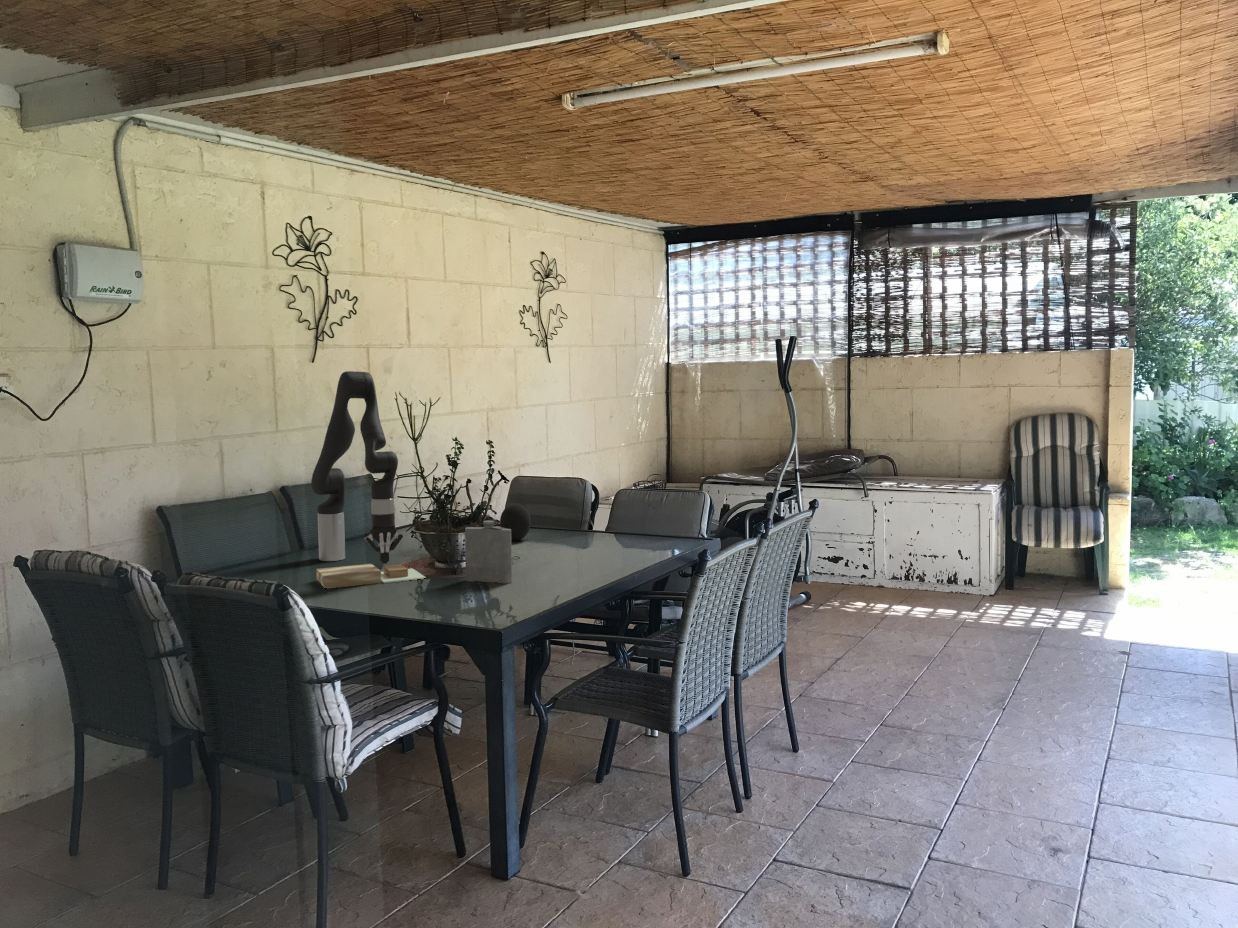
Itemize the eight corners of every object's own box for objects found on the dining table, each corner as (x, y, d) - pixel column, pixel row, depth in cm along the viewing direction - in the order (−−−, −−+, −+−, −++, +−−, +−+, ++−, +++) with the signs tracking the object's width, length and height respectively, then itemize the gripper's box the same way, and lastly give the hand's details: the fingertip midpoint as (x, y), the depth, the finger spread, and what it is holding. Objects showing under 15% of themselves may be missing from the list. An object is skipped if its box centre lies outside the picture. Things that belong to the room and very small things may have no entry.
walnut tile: (401, 564, 335) (401, 571, 335) (383, 566, 332) (384, 573, 332) (407, 568, 328) (408, 576, 328) (389, 570, 325) (390, 578, 325)
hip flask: (464, 581, 323) (463, 520, 321) (469, 578, 327) (468, 519, 325) (509, 583, 319) (508, 522, 317) (514, 581, 323) (513, 520, 321)
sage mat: (371, 574, 334) (371, 572, 334) (412, 570, 341) (412, 568, 341) (383, 583, 320) (383, 581, 320) (425, 578, 327) (425, 577, 327)
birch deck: (316, 580, 325) (316, 568, 324) (371, 575, 333) (371, 563, 332) (324, 588, 313) (324, 576, 313) (381, 582, 321) (380, 570, 321)
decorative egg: (496, 539, 400) (495, 502, 398) (524, 536, 405) (524, 500, 403) (505, 544, 389) (505, 506, 387) (535, 541, 394) (534, 504, 392)
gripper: (399, 508, 333) (401, 559, 334) (360, 511, 326) (361, 563, 328) (405, 511, 326) (407, 563, 328) (365, 514, 320) (367, 567, 322)
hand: (384, 563), depth 328 cm, fingers closed
